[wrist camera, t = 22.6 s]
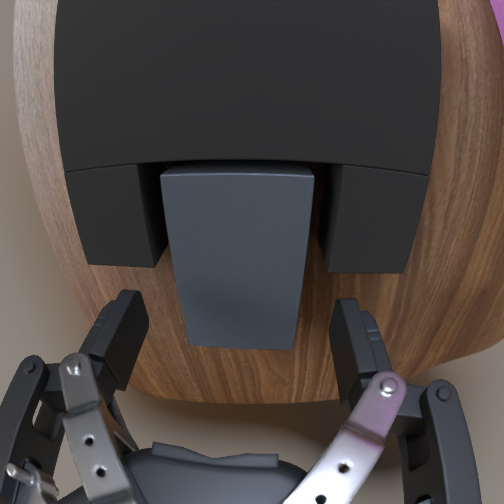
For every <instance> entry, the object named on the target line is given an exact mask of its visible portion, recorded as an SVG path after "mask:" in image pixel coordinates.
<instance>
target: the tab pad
mask: <svg viewBox="0 0 504 504" xmlns="http://www.w3.org/2000/svg"><path fill="white" fill-rule="evenodd" d="M160 179H161V188H162V196H163V204H164V212H165V219H166V226H167V232H168V239H169V245H170V251H171V257H172V263H173V269H174V274H175V280H176V285H177V290H178V295H179V300H180V305H181V310H182V315H183V319H184V324H185V328H186V333H187V337H188V341H189V345H193V346H205V347H220V348H237V349H266V350H292V348H293V342H294V336H295V330H296V324H297V318H298V311H299V305H300V298H301V291H302V284H303V277H304V270H305V262H306V254H307V246H308V238H309V229H310V220H311V210H312V200H313V190H314V179H315V177H314V175H313V173H312V171H311V170H310V168H309V166H308V164H307V163H306V162H304V161H283V160H189V161H176V162H175V163H174V164H173V165H172V166H171V167H169V168H168V169H167V170H166V171H165V172H164V173H163V174H161V176H160Z"/></svg>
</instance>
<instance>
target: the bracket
mask: <svg viewBox="0 0 504 504" xmlns="http://www.w3.org/2000/svg"><path fill="white" fill-rule="evenodd" d="M490 3H491V5H492V8H493V11H494V14H495V17H496V20H497V24H498V27H499V31H500V34H501V38H502V42H503V46H504V0H490Z"/></svg>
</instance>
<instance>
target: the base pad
mask: <svg viewBox="0 0 504 504" xmlns="http://www.w3.org/2000/svg"><path fill="white" fill-rule="evenodd" d="M440 80H441V39H440V21H439V10H438V1H437V0H58V5H57V13H56V24H55V39H54V91H55V107H56V118H57V128H58V136H59V143H60V150H61V157H62V163H63V168H64V172H65V173H64V175H65V180H66V185H67V189H68V194H69V198H70V203H71V207H72V211H73V215H74V219H75V222H76V226H77V230H78V233H79V237H80V240H81V243H82V247H83V250H84V253H85V256H86V259H87V262H88V264H92V265H109V266H128V267H148V268H155V266H156V264H157V263H158V261H159V259H160V257H161V255H162V253H163V252H164V250H165V248H166V246H167V245H168V243H169V239H168V232H167V226H166V219H165V212H164V204H163V196H162V188H161V179H160V176H161V174H163V173H164V172H163V162H169V161H189V160H283V161H304V162H320V163H327V166H326V176H325V186H324V196H323V205H322V213H321V222H320V230H319V237H318V242H319V245H320V248H321V251H322V254H323V258H324V261H325V264H326V268H327V271H328V273H403V272H404V270H405V267H406V263H407V260H408V257H409V254H410V251H411V248H412V244H413V241H414V237H415V234H416V230H417V227H418V223H419V219H420V215H421V211H422V207H423V203H424V199H425V194H426V190H427V185H428V180H429V176H428V175H429V174H430V169H431V163H432V157H433V151H434V145H435V137H436V130H437V121H438V111H439V98H440Z"/></svg>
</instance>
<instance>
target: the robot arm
mask: <svg viewBox="0 0 504 504" xmlns="http://www.w3.org/2000/svg"><path fill="white" fill-rule="evenodd" d="M148 328H149V317H148V314H147V311H146V307H145V304H144V301H143V298H142V294H141V292H140V291H137V290H125V289H123V290H121V292H120V293H119V295H118V297H117V298H116V300H115V301H114V300H111V301H110V302H109V303H108V304H107V305H106V306H105V307H103V309H102V310H101V312H100V314H99V316H98V319H96V321H95V323H94V326H92V328H91V330H90V331H89V333H88V335H87V337H86V339H85V341H84V343H83V344H82V346H81V348H80V350H79V352H78V353H73V354H70V355H68V356H66V357H65V358H64V359H63V360H62V362H61V363H54V364H45V363H44V361H43V360H42V359H41V358H40V357H39V356H36V355H31V356H28V357H26V358H25V359H24V360H23V361H22V362H21V363H20V365H19V367H18V369H17V371H16V373H15V375H14V377H13V379H12V381H11V383H10V386H9V388H8V390H7V392H6V394H5V396H4V399H3V401H2V403H1V406H0V504H349V503H350V502H351V501H352V499H353V498H354V496H355V495H356V493H357V492H358V490H359V489H360V487H361V486H362V484H363V483H364V481H365V480H366V478H367V476H368V475H369V473H370V472H371V470H372V468H373V466H374V465H375V463H376V461H377V460H378V458H379V456H380V454H381V453H382V451H383V448H384V446H385V442H384V440H385V438H386V435H387V434H393V435H397V439H398V445H399V453H400V460H401V468H402V478H403V490H404V504H482V502H481V493H480V487H479V479H478V473H477V467H476V462H475V457H474V452H473V448H472V443H471V439H470V435H469V431H468V427H467V423H466V420H465V416H464V413H463V409H462V407H461V403H460V400H459V396H458V393H457V391H456V389H455V387H454V386H453V385H452V384H451V383H450V382H448V381H446V380H441V379H440V380H435V381H433V382H432V383H431V384H430V385H429V386H428V387H422V386H416V385H410V384H407V383H405V381H404V380H403V378H402V377H401V376H400V375H398V374H396V373H394V372H393V369H392V367H391V363H390V360H389V357H388V354H387V351H386V348H385V346H384V343H383V340H382V337H381V334H380V332H379V329H378V326H377V323H376V320H375V319H374V318H373V317H372V315H371V314H370V313H369V312H368V311H360V308H359V305H358V302H357V300H356V299H355V298H341V299H337V300H336V303H335V307H334V311H333V314H332V318H331V322H330V326H329V340H330V345H331V350H332V356H333V361H334V367H335V373H336V378H337V384H338V390H339V397H340V402H341V406H345V405H350V411H351V413H350V414H349V416H348V418H347V419H346V421H345V422H344V424H343V425H342V427H341V428H340V430H339V431H338V432H337V434H336V435H335V437H334V438H333V440H332V441H331V442H330V444H329V445H328V447H327V448H326V449H325V451H324V452H323V453H322V455H321V456H320V457H319V459H318V460H317V461H316V462H315V464H314V465H313V466H312V468H311V469H310V470H309V471H308V473H307V472H306V471H305V470H303V469H301V468H299V467H298V466H296V465H293V464H291V463H288V462H285V461H281V460H278V454H249V453H246V454H240V455H234V456H227V457H219V458H210V457H207V456H205V455H202V454H199V453H197V452H194V451H191V450H189V449H186V448H184V447H180V446H174V445H168V444H162V443H158V442H153V445H152V448H146V449H141V450H139V448H138V446H137V444H136V443H135V441H134V440H133V438H132V437H131V435H130V433H129V431H128V429H127V427H126V425H125V422H124V420H123V417H122V415H121V413H120V410H119V408H118V405H117V402H116V400H115V397H114V396H113V395H114V392H115V390H116V389H117V390H122V391H125V390H126V387H127V384H128V381H129V379H130V376H131V373H132V370H133V368H134V365H135V362H136V360H137V357H138V354H139V352H140V349H141V347H142V344H143V341H144V339H145V336H146V334H147V331H148ZM39 400H41V402H42V405H41V407H40V410H39V413H38V415H37V418H36V421H35V423H34V426H33V423H32V419H33V416H34V413H35V410H36V408H37V405H38V403H39ZM65 432H66V436H67V440H68V443H69V446H70V450H71V453H72V456H73V459H74V462H75V465H76V468H77V471H78V474H79V476H80V479H81V482H82V484H83V485H82V486H81V487H79V488H78V489H76V490H75V491H73V492H71V493H70V494H68V495H67V496H65V497H63V498H62V499H60V500H58V501H57V498H56V497H57V496H58V495H59V490H58V488H57V487H56V485H55V482H54V480H53V474H54V470H55V465H56V462H57V458H58V454H59V450H60V447H61V443H62V440H63V436H64V433H65Z"/></svg>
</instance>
